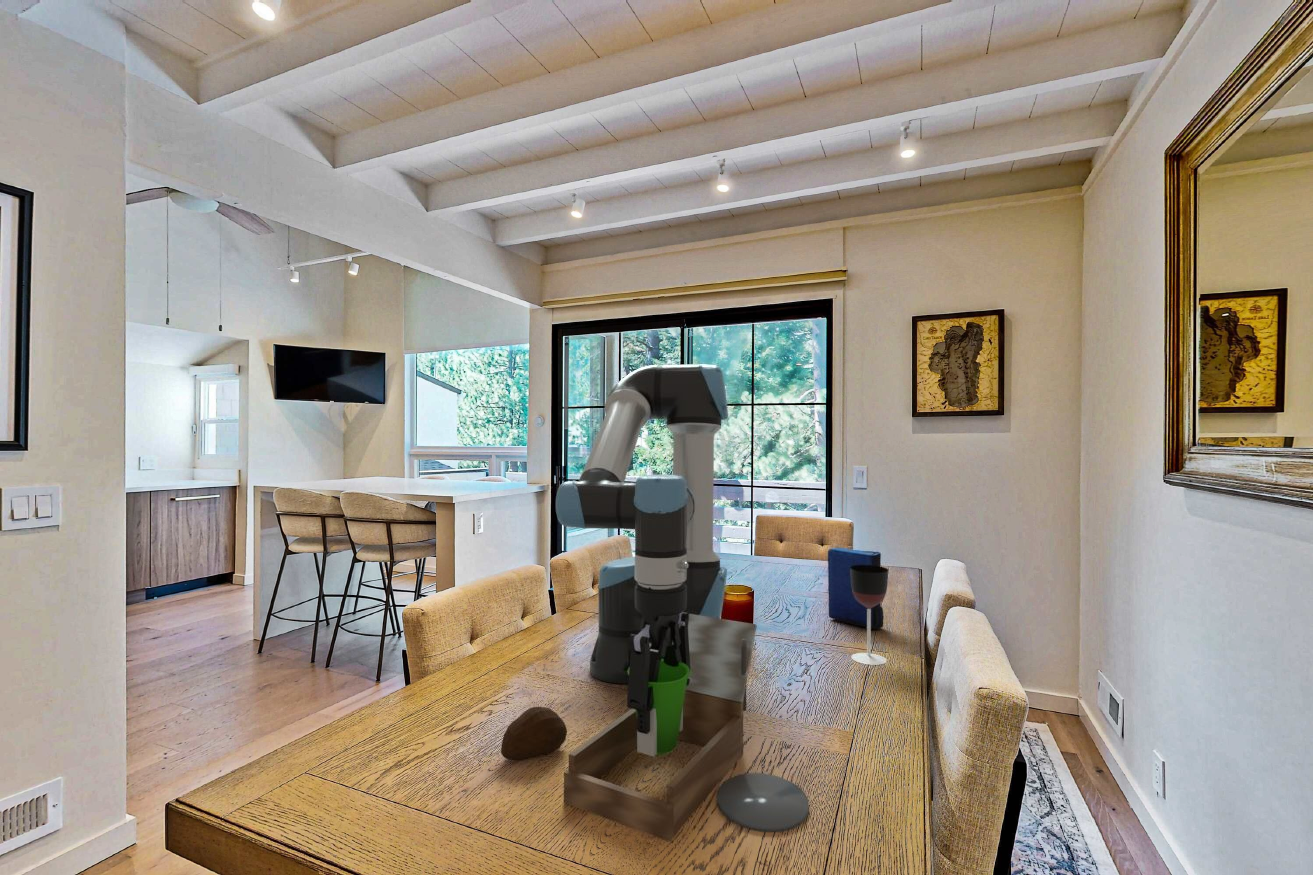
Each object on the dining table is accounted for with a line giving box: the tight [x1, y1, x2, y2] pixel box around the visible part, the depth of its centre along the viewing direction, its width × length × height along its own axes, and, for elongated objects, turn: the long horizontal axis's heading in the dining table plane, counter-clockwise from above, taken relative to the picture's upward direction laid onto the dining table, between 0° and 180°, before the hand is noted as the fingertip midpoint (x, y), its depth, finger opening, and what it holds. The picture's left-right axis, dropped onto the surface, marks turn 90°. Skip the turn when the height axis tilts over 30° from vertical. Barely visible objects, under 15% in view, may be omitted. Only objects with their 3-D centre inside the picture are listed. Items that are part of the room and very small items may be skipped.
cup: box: [628, 659, 690, 756], centre depth 88 cm, size 9×9×11 cm
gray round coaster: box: [716, 772, 810, 833], centre depth 81 cm, size 12×12×1 cm
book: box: [827, 546, 884, 630], centre depth 162 cm, size 14×5×20 cm, turn 42°
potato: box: [500, 706, 568, 762], centre depth 94 cm, size 7×10×7 cm
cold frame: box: [563, 614, 757, 842], centre depth 91 cm, size 16×30×19 cm, turn 151°
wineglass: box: [850, 565, 889, 666], centre depth 136 cm, size 8×9×20 cm
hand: (660, 739), depth 89 cm, fingers closed on cup, 7 cm apart
